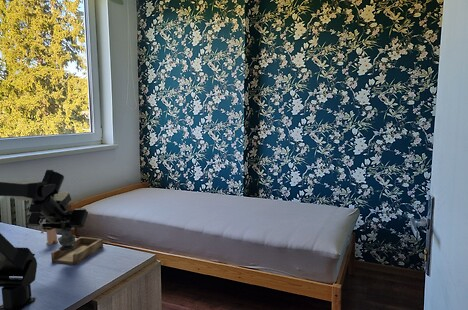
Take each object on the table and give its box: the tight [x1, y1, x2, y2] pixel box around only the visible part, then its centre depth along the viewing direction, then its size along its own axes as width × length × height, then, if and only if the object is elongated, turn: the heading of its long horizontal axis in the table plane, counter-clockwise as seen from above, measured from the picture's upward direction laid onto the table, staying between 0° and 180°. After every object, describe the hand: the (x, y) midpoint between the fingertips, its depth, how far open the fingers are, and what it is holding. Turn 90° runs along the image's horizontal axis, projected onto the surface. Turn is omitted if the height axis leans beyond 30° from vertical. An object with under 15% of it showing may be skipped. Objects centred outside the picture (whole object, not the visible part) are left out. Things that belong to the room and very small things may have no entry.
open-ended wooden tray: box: [50, 236, 104, 266], centre depth 132 cm, size 16×10×4 cm, turn 166°
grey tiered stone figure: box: [57, 222, 77, 251], centre depth 124 cm, size 6×6×12 cm
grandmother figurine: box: [40, 226, 59, 246], centre depth 142 cm, size 8×4×13 cm, turn 157°
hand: (68, 228), depth 125 cm, fingers closed on grey tiered stone figure, 4 cm apart
